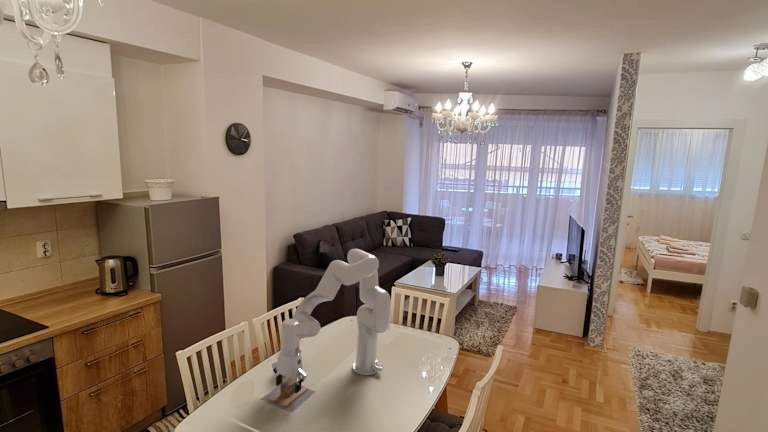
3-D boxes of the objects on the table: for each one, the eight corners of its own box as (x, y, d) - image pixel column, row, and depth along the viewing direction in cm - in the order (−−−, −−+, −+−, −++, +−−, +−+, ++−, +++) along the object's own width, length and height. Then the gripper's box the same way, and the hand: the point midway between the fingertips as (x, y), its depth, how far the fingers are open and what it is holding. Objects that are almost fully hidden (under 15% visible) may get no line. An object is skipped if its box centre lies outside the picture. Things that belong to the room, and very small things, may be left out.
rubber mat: (315, 392, 173) (315, 391, 173) (291, 413, 159) (292, 412, 159) (285, 381, 180) (285, 380, 179) (260, 400, 165) (260, 399, 165)
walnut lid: (307, 390, 173) (308, 377, 172) (286, 408, 161) (286, 394, 160) (290, 383, 177) (291, 370, 176) (268, 400, 165) (269, 387, 164)
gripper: (312, 351, 165) (310, 390, 168) (279, 340, 172) (277, 377, 175) (301, 359, 158) (299, 399, 161) (267, 347, 166) (265, 385, 168)
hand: (288, 387), depth 168 cm, fingers open, 9 cm apart
